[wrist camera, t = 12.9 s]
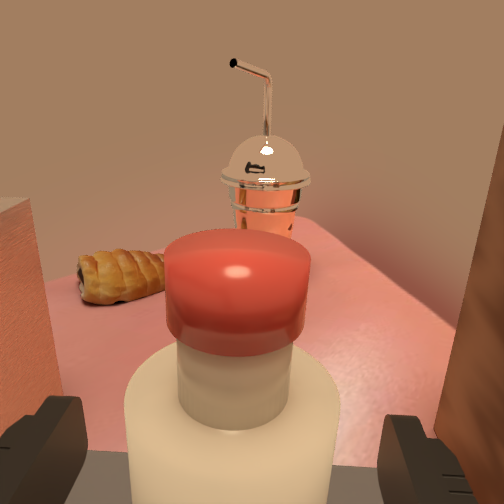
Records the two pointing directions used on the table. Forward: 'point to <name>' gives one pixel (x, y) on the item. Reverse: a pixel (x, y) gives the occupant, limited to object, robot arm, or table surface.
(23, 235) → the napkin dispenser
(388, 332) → the table surface
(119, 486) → the slate tray
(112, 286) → the pastry
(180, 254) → the sauce bottle
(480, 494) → the stand
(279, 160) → the cup with straw
